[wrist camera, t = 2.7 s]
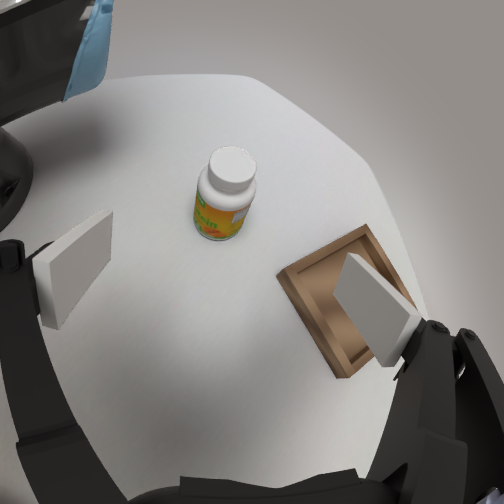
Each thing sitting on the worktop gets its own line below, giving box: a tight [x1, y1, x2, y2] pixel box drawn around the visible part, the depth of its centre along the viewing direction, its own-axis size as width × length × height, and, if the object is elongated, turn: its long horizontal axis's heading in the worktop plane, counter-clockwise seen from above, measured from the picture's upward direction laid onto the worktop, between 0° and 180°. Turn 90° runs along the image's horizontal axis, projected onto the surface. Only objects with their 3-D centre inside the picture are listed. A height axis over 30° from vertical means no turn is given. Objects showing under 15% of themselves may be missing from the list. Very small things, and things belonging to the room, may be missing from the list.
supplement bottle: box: [194, 146, 257, 240], centre depth 27 cm, size 5×5×10 cm
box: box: [276, 224, 417, 378], centre depth 30 cm, size 13×13×2 cm
